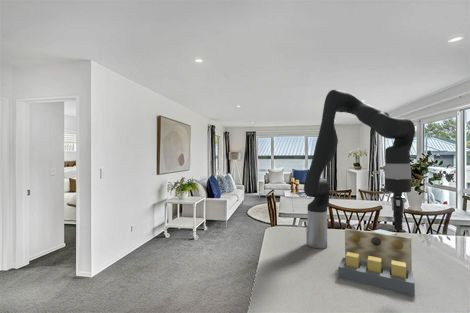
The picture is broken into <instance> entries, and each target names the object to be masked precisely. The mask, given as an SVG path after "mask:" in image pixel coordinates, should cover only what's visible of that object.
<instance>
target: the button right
mask: <svg viewBox="0 0 470 313" xmlns="http://www.w3.org/2000/svg"><path fill="white" fill-rule="evenodd" d="M391 268H392V276H397V277H401V278H406V263H405V262H399V261H394V260H392V262H391Z"/></svg>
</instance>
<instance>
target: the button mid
mask: <svg viewBox="0 0 470 313" xmlns="http://www.w3.org/2000/svg"><path fill="white" fill-rule="evenodd" d="M368 270H369V271H373V272H378V273H382V263H381V258H378V257H372V256H368Z"/></svg>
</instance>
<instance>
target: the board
mask: <svg viewBox="0 0 470 313" xmlns="http://www.w3.org/2000/svg"><path fill="white" fill-rule="evenodd" d="M337 268H338V270H337V271H338V273H337V274H338V276H337V277H338V278H337V279H341V280H345V281H349V282H353V283H358V284H362V285H366V286H369V287H375V288H378V289H382V290H386V291H391V292H394V293H399V294H403V295H407V296H411V297H416V294H415V292H416V290H415V289H416V288H415V287H416V286H415V285H416V284H415V278H414V272H413V270H412V271H409V270H406V278H401V277H397V276H392V268H391V267H389V266H384V265H382V273H378V272H373V271H369V270H368V262H364V261H359V268H355V267H350V266H346V258H345V257H342V259H341V261H340V262H339V265H338V267H337Z"/></svg>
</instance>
